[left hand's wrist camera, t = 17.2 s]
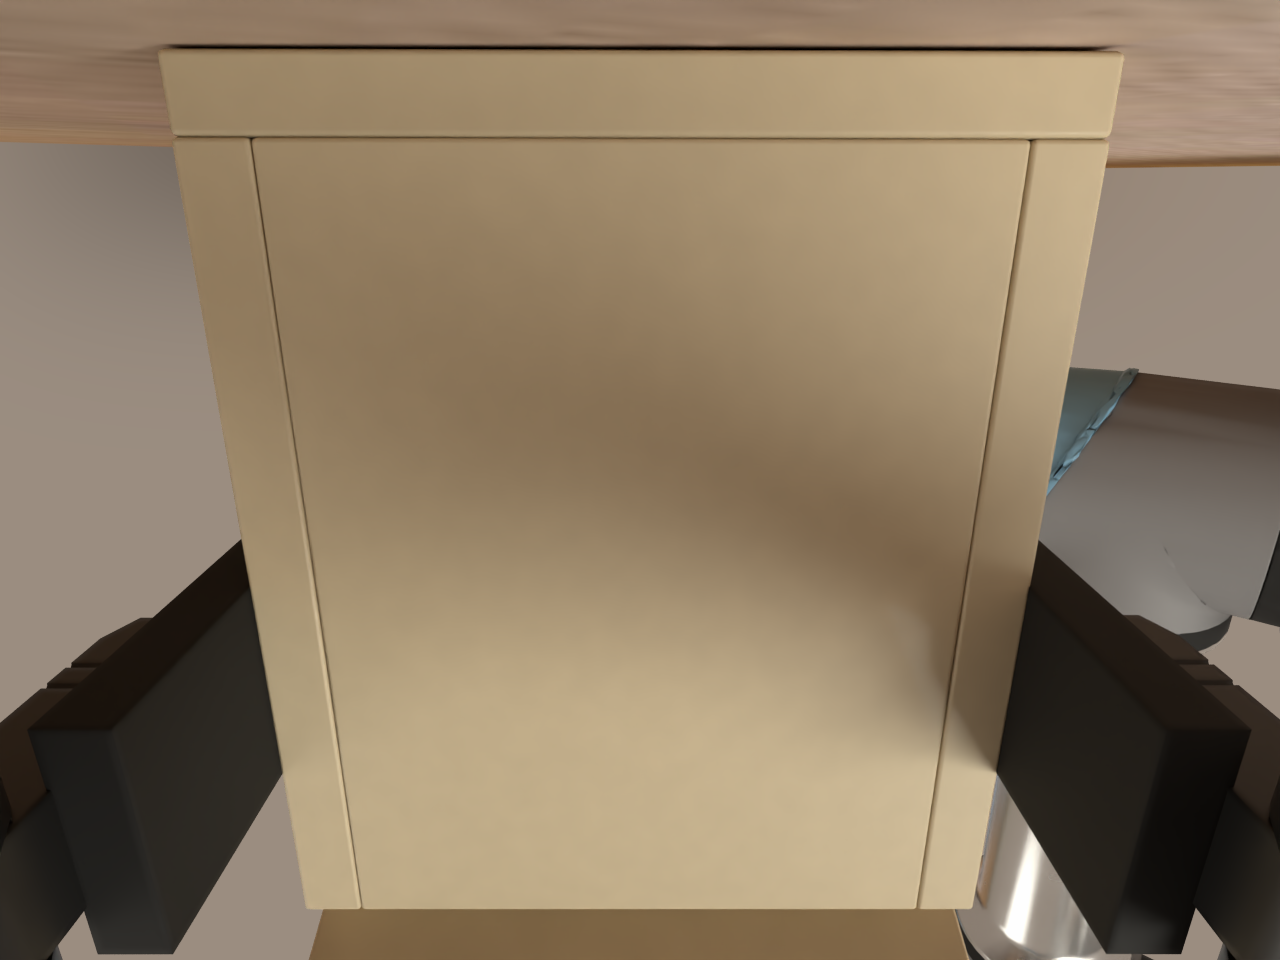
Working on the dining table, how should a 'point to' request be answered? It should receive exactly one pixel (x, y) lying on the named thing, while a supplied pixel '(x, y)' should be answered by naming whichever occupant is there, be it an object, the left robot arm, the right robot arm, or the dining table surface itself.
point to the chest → (639, 452)
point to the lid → (639, 934)
